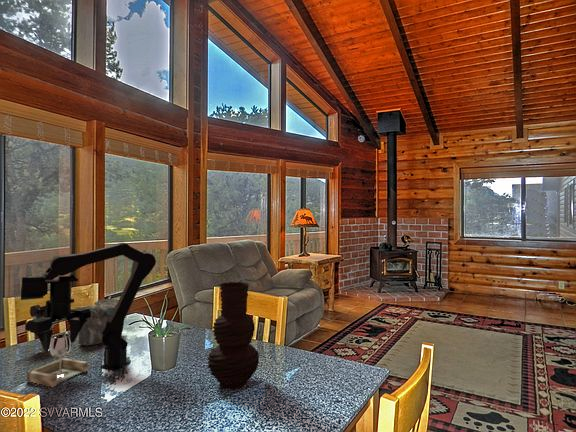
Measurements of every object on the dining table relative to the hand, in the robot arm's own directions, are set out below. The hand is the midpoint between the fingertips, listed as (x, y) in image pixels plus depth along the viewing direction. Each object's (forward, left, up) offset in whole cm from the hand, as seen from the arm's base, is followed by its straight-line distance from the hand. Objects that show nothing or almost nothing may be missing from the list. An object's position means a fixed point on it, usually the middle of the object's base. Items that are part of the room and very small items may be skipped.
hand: (59, 346), depth 120 cm
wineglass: (0, 0, -9) cm, 9 cm away
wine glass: (+26, -17, -10) cm, 33 cm away
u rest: (0, 0, -9) cm, 9 cm away
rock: (+15, -34, -10) cm, 39 cm away
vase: (-53, -14, -10) cm, 55 cm away
